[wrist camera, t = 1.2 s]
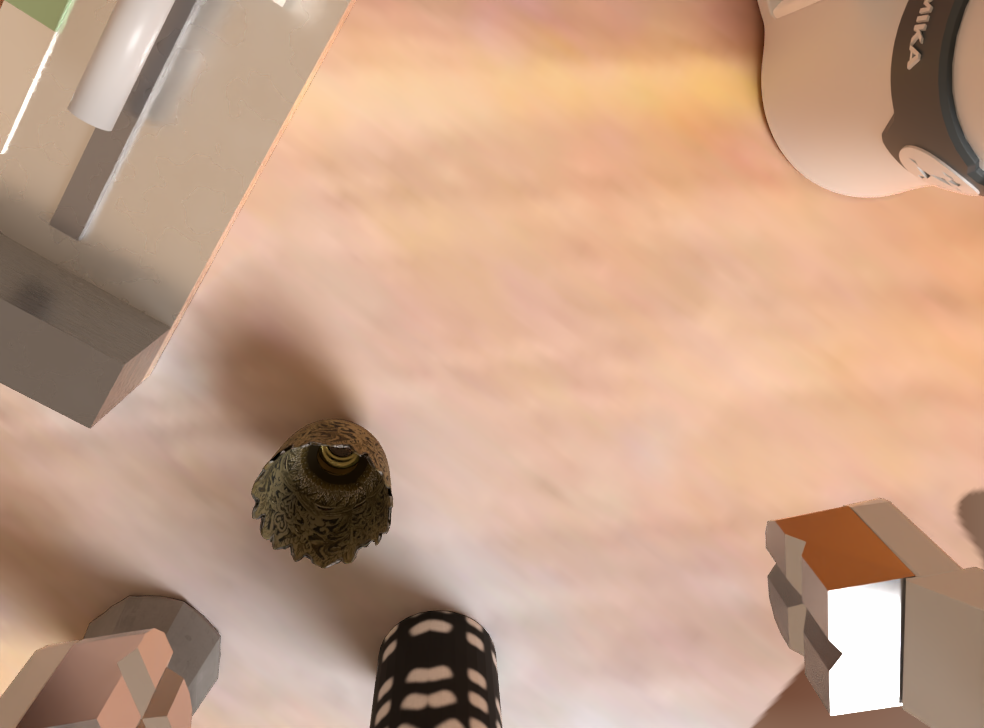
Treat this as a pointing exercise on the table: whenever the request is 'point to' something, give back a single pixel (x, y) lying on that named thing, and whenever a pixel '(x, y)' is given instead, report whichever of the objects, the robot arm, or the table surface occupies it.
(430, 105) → the table surface
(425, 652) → the spotted tube
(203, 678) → the coffeepot
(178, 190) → the gauge base
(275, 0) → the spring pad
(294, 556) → the cup
